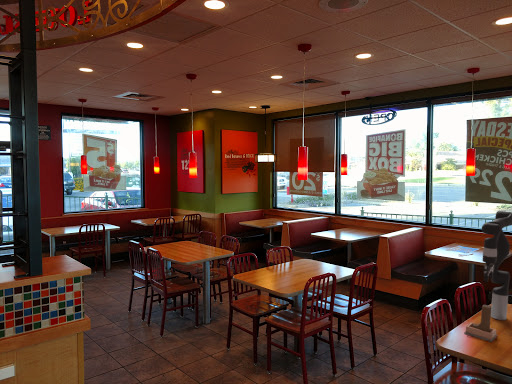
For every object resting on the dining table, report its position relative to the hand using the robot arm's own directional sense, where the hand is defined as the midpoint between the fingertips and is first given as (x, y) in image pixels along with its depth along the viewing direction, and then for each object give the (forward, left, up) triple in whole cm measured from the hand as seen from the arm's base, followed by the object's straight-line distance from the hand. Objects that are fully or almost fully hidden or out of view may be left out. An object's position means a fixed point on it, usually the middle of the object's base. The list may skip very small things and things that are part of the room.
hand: (488, 279), depth 243 cm
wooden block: (+8, 0, -33) cm, 34 cm away
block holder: (+8, 0, -34) cm, 35 cm away
